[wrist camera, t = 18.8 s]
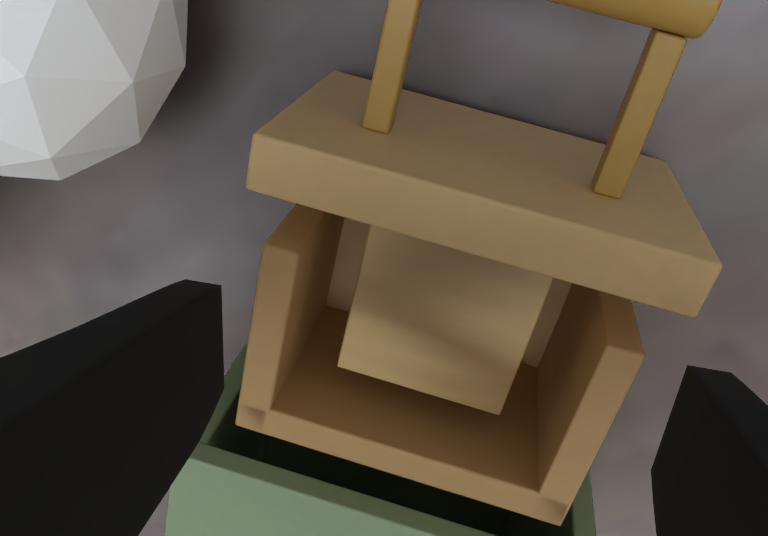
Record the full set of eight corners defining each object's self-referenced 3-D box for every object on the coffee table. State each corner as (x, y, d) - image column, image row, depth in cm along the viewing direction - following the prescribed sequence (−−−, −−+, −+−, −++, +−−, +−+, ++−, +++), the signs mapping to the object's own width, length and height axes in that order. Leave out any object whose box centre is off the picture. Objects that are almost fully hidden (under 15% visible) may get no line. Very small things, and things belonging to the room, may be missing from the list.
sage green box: (278, 294, 23) (171, 452, 16) (582, 384, 22) (603, 588, 16) (247, 472, 27) (151, 660, 20) (505, 553, 26) (495, 775, 19)
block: (505, 327, 20) (552, 201, 18) (499, 416, 16) (557, 270, 14) (370, 287, 20) (402, 159, 18) (336, 366, 17) (371, 217, 15)
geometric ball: (136, 50, 23) (-79, 204, 20) (-21, -236, 17) (-364, -93, 14) (297, 88, 19) (56, 293, 15) (155, -277, 13) (-276, -84, 10)
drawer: (369, -132, 16) (289, -153, 11) (754, -34, 16) (868, -5, 10) (290, 298, 22) (212, 422, 17) (570, 381, 21) (581, 537, 16)
